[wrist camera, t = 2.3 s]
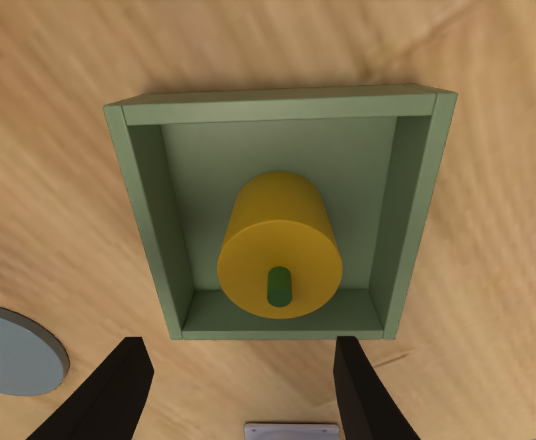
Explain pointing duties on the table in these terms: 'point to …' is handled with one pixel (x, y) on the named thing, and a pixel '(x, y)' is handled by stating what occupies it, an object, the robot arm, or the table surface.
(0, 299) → the table surface
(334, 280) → the pepper
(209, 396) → the table surface
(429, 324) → the table surface
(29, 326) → the saucer
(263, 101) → the tub
